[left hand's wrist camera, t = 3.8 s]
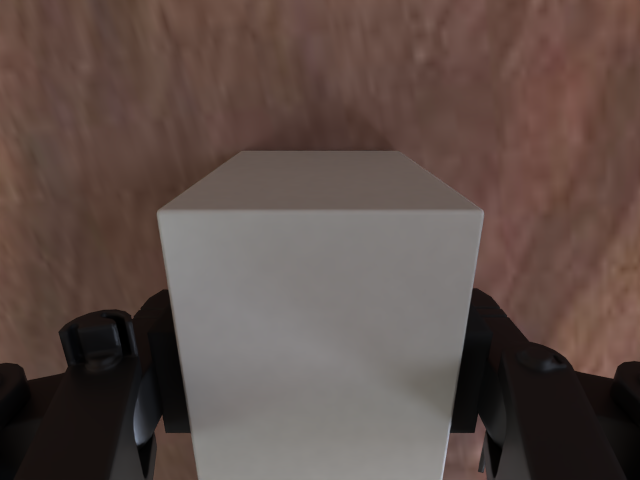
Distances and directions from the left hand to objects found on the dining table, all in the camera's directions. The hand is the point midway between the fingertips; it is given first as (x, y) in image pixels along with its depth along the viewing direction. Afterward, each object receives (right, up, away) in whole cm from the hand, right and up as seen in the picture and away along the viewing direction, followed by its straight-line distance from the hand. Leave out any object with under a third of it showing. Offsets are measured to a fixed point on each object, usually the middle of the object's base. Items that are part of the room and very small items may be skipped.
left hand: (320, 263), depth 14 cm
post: (0, -27, +11) cm, 30 cm away
